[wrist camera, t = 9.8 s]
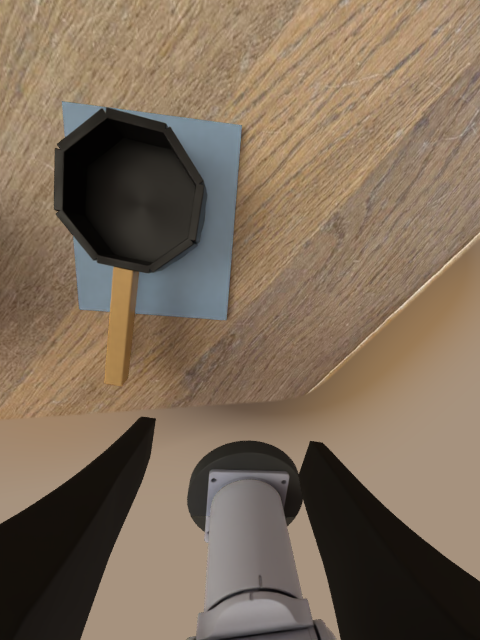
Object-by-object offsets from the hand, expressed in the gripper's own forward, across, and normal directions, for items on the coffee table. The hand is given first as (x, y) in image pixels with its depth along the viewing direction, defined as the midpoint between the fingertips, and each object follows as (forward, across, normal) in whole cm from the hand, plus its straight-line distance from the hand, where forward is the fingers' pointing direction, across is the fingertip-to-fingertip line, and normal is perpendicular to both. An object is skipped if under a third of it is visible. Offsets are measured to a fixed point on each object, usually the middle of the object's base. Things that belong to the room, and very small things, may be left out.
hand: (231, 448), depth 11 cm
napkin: (+9, +7, -9) cm, 15 cm away
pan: (+9, +8, -6) cm, 13 cm away
